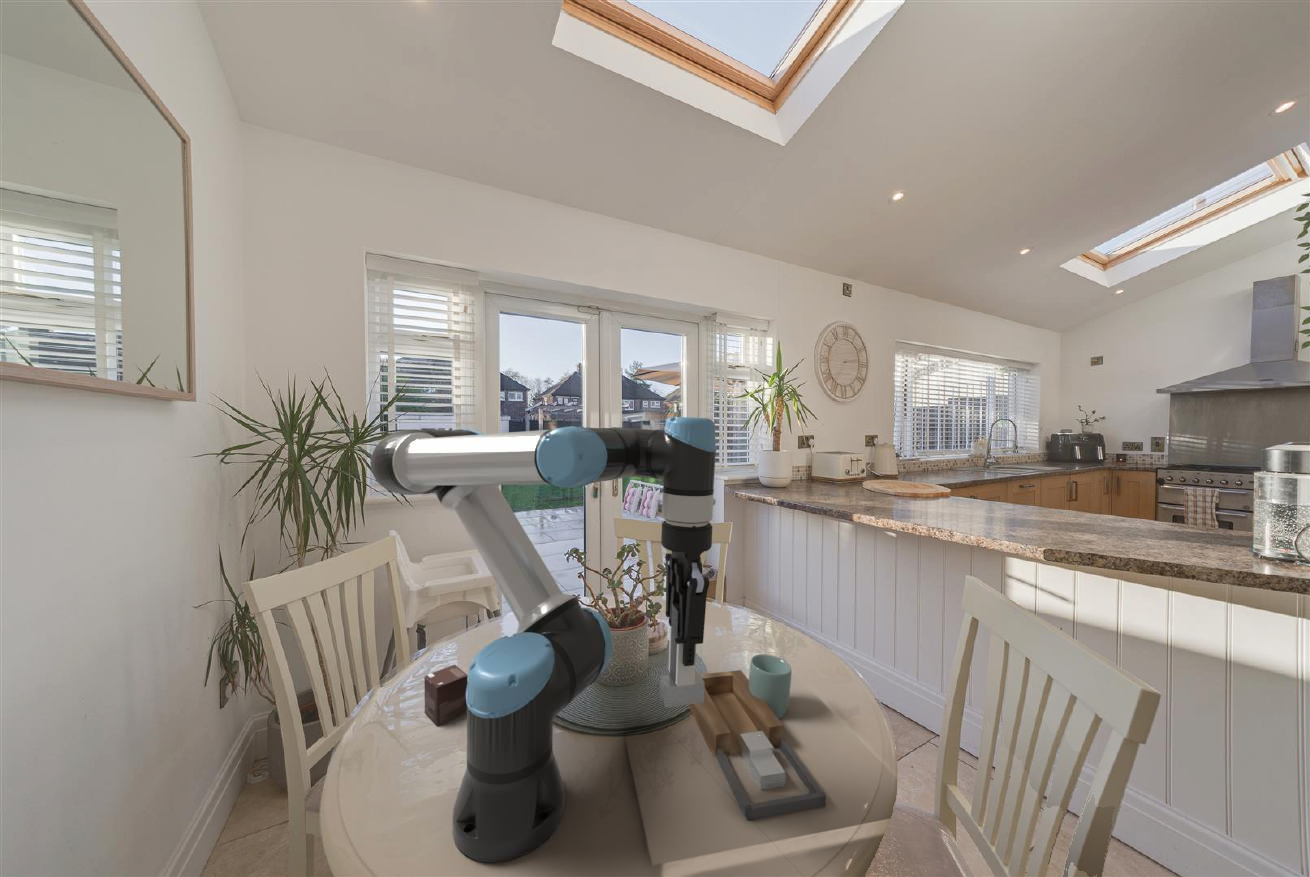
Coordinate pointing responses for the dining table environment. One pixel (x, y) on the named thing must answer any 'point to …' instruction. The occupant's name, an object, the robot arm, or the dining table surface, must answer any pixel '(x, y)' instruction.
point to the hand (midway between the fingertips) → (681, 676)
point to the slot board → (733, 713)
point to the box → (445, 694)
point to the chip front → (767, 771)
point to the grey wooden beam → (668, 687)
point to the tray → (778, 805)
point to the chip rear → (754, 745)
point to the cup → (771, 682)
